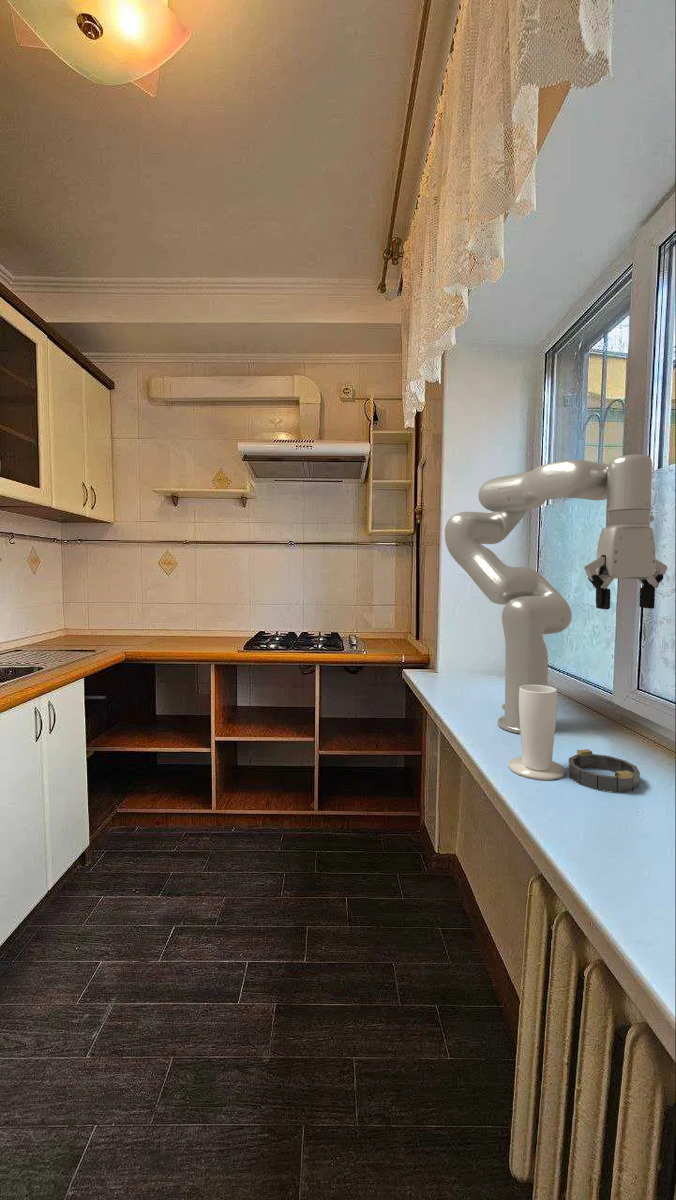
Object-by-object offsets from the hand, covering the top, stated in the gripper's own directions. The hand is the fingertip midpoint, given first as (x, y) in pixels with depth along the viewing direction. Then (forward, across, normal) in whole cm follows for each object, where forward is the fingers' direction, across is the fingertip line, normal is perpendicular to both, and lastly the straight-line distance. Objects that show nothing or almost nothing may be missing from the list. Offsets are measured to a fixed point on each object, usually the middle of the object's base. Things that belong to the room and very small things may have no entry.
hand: (624, 608), depth 99 cm
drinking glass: (+30, +19, +2) cm, 36 cm away
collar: (+30, +10, +8) cm, 33 cm away
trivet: (+30, +20, +2) cm, 36 cm away
